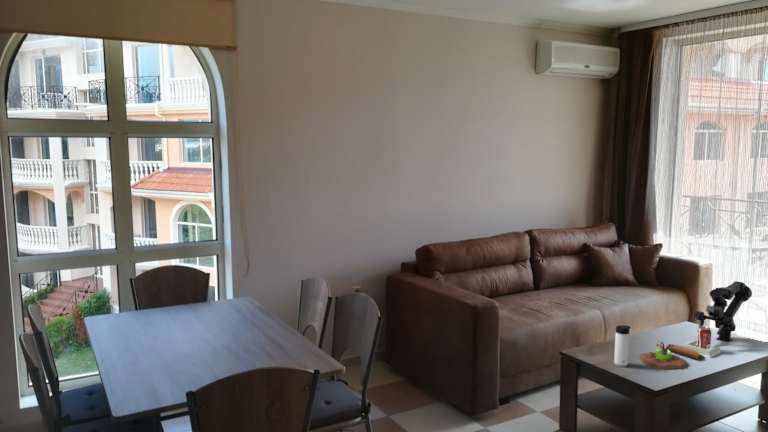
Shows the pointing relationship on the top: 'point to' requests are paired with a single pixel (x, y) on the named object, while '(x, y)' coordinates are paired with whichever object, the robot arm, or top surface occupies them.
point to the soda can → (703, 337)
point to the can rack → (704, 352)
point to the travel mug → (621, 346)
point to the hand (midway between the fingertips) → (708, 332)
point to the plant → (663, 359)
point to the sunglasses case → (686, 352)
